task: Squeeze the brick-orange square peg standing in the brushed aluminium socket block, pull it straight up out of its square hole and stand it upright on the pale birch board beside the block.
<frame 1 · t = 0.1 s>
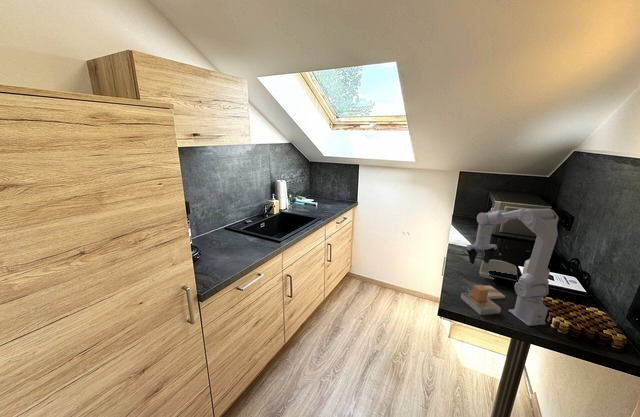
hand: (478, 262, 130), 10 cm above the counter, tool pointing down, fingers open, 7 cm apart
board: (488, 293, 122), on the counter
peg: (477, 303, 114), resting in socket block
milk carton: (529, 295, 121), on the counter
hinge: (496, 277, 137), on the counter
socket block: (479, 305, 113), on the counter
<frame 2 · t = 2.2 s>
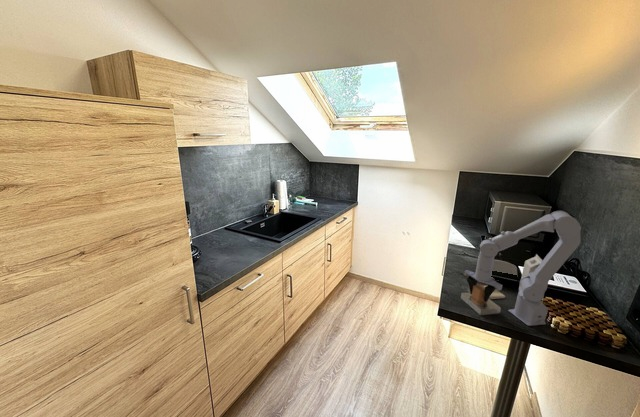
hand: (479, 296, 113), 3 cm above the counter, tool pointing down, fingers closed on peg, 5 cm apart
peg: (477, 303, 114), resting in socket block, touching gripper
everything else where it was.
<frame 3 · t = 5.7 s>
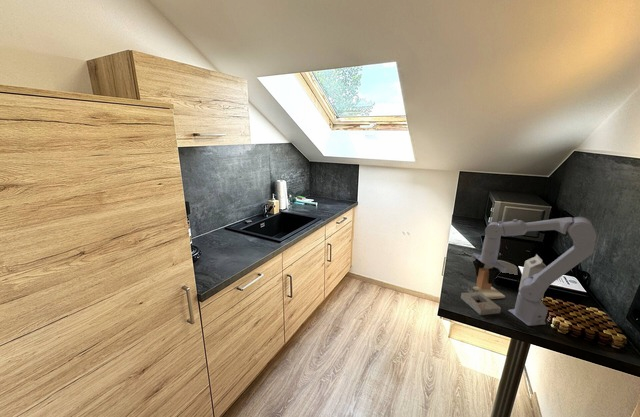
hand: (484, 279, 114), 10 cm above the counter, tool pointing down, fingers closed on peg, 5 cm apart
peg: (483, 286, 114), point 7 cm above the counter, touching gripper
everything else where it was.
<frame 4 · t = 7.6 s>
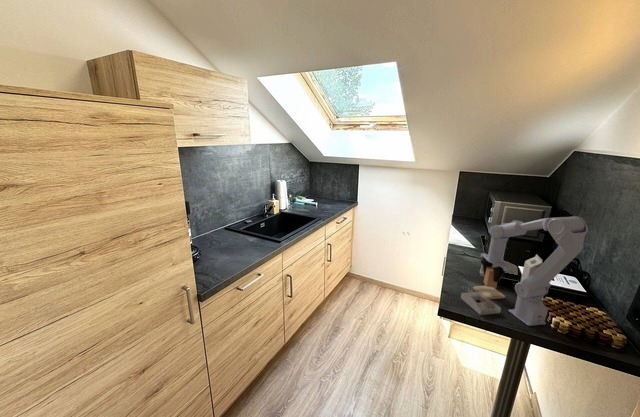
hand: (491, 278, 120), 8 cm above the counter, tool pointing down, fingers closed on peg, 5 cm apart
peg: (489, 284, 121), point 4 cm above the counter, touching gripper
everything else where it was.
when the fingers open (5 cm above the counter, at t = 9.0 s): peg stays where it is, resting on board.
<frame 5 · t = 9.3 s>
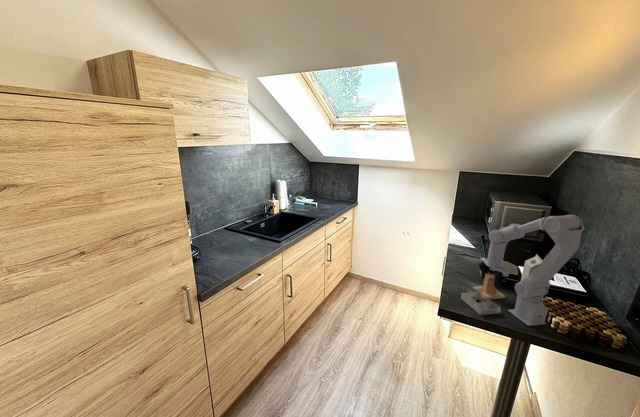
hand: (490, 282, 121), 5 cm above the counter, tool pointing down, fingers open, 7 cm apart
peg: (488, 291, 122), point 1 cm above the counter, touching board
everything else where it was.
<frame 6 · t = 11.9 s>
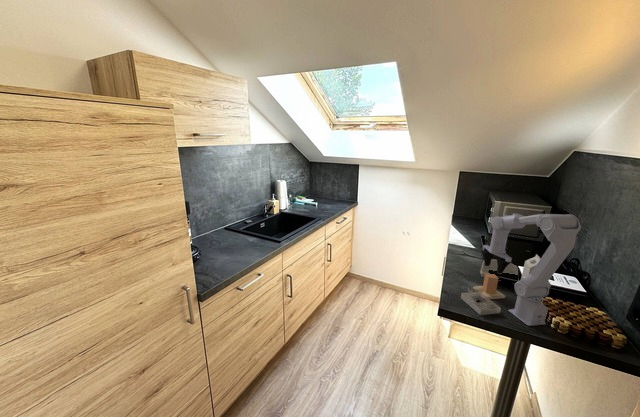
hand: (493, 269, 123), 10 cm above the counter, tool pointing down, fingers open, 7 cm apart
nothing on the counter moved.
at the end: peg 0.0 cm off-centre on the board, point 1.0 cm above the board's base; peg tilted 0°; the gripper is holding nothing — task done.
